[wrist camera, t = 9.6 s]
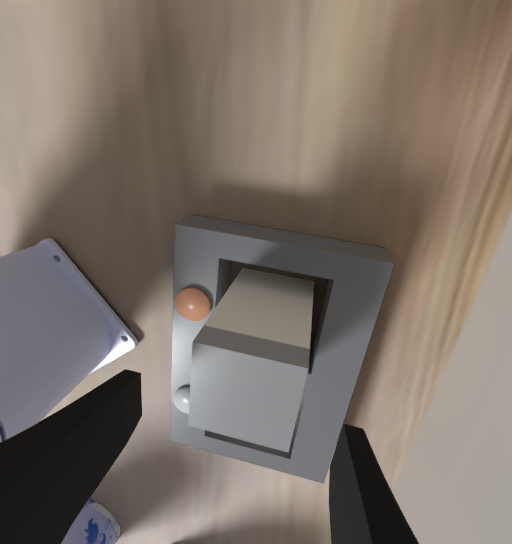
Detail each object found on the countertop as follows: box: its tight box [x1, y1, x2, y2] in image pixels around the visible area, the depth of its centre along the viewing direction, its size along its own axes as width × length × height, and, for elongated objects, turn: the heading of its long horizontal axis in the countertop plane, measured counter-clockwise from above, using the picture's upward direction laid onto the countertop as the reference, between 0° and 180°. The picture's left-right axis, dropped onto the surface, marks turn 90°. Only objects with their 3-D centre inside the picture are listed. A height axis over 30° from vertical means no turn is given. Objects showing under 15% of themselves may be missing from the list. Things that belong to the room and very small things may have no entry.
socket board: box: [170, 215, 394, 483], centre depth 19 cm, size 16×11×3 cm
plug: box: [188, 268, 314, 453], centre depth 16 cm, size 4×4×8 cm
